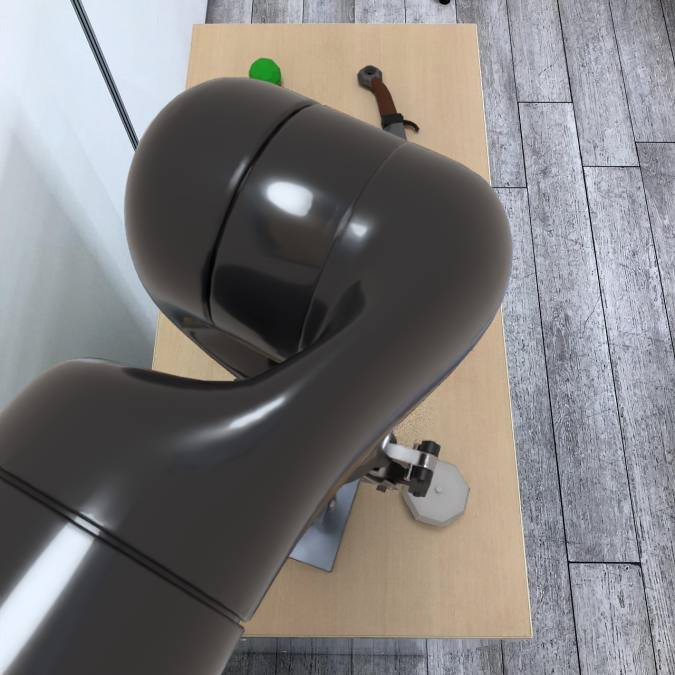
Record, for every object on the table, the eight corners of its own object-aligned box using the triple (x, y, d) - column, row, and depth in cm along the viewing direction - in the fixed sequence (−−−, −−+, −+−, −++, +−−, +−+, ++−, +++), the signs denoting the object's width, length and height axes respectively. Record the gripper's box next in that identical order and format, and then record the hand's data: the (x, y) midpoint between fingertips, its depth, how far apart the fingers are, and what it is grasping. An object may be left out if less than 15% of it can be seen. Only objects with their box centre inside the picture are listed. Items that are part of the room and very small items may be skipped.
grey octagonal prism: (468, 527, 75) (480, 522, 69) (403, 533, 75) (408, 529, 69) (458, 460, 78) (468, 450, 72) (395, 466, 78) (399, 456, 72)
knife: (408, 56, 99) (450, 218, 88) (407, 67, 101) (447, 227, 91) (354, 63, 99) (389, 226, 88) (353, 73, 101) (387, 234, 90)
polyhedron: (246, 94, 99) (242, 71, 95) (257, 71, 101) (253, 48, 97) (276, 102, 99) (273, 79, 94) (286, 78, 101) (284, 55, 96)
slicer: (293, 450, 79) (285, 426, 67) (362, 474, 77) (365, 453, 66) (258, 546, 74) (243, 539, 62) (330, 572, 73) (328, 569, 61)
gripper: (173, 426, 33) (226, 477, 48) (439, 516, 31) (407, 540, 46) (228, 301, 35) (262, 387, 50) (476, 378, 33) (434, 443, 49)
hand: (331, 460), depth 48 cm, fingers open, 8 cm apart
